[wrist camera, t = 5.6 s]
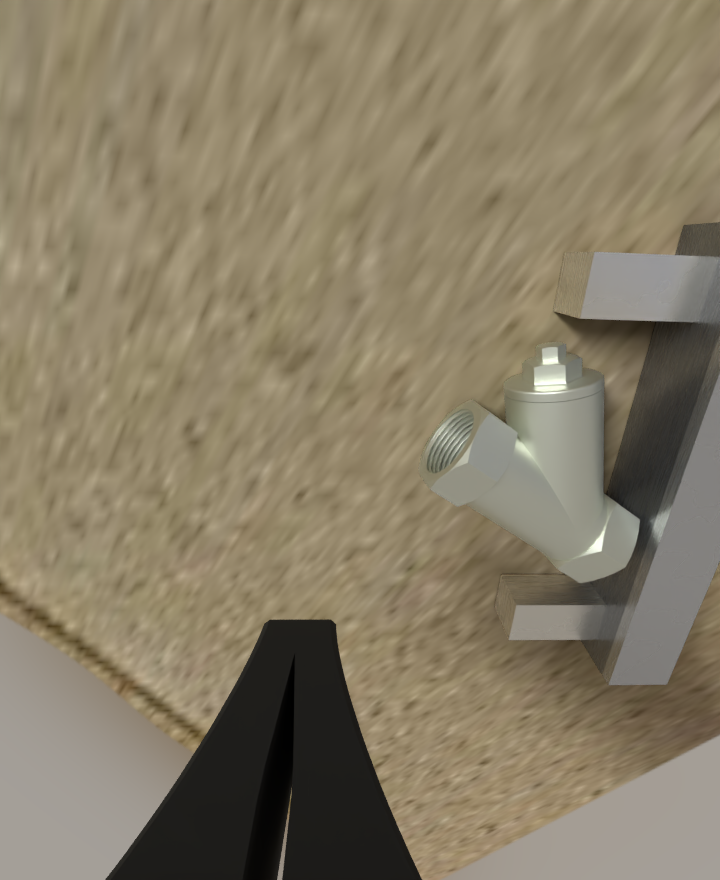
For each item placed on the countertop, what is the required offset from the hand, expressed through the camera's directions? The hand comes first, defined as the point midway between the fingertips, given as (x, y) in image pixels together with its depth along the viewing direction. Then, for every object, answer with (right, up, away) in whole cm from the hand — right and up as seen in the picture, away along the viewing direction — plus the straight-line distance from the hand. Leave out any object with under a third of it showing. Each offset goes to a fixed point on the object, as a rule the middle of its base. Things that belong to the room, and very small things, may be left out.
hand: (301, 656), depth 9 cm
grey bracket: (+11, +4, +10) cm, 15 cm away
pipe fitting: (+9, +4, +10) cm, 14 cm away
